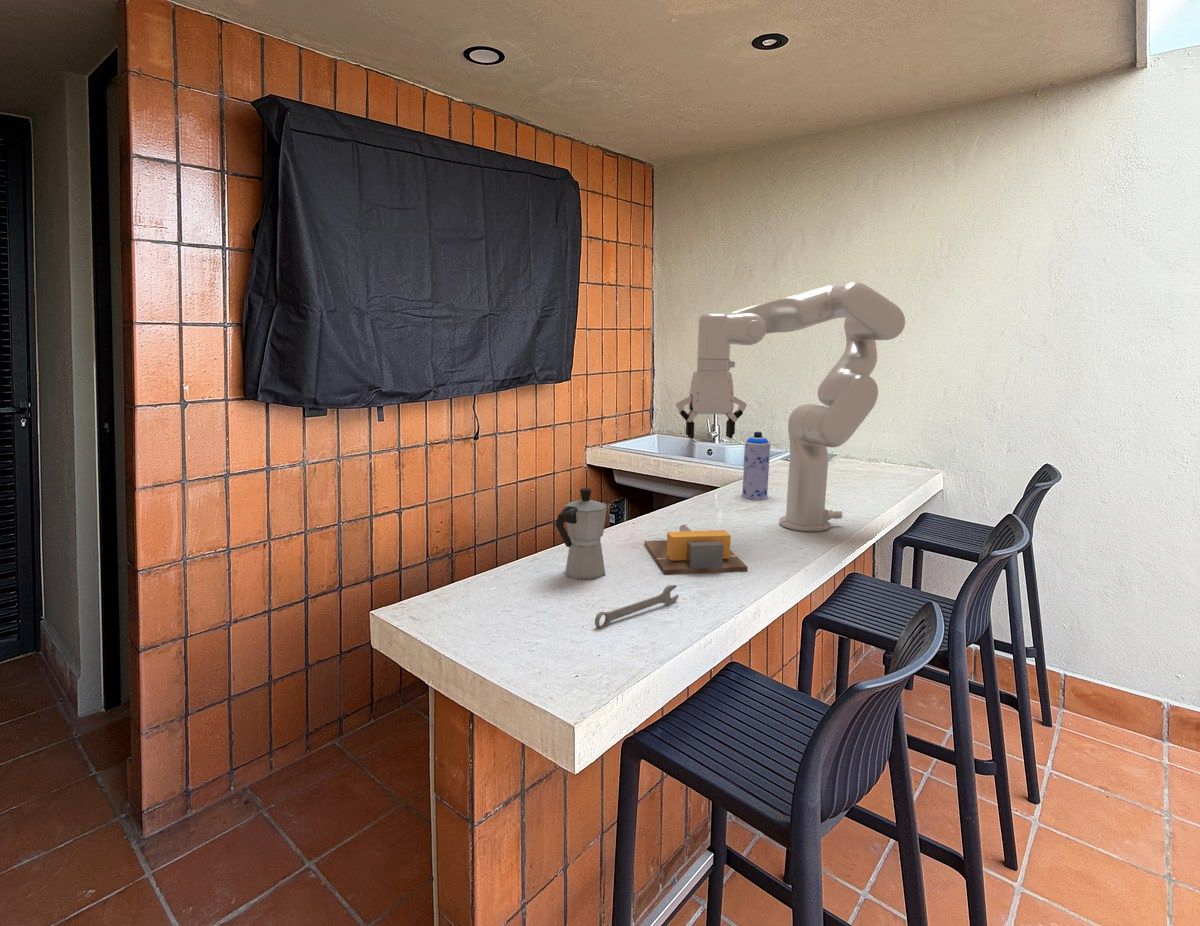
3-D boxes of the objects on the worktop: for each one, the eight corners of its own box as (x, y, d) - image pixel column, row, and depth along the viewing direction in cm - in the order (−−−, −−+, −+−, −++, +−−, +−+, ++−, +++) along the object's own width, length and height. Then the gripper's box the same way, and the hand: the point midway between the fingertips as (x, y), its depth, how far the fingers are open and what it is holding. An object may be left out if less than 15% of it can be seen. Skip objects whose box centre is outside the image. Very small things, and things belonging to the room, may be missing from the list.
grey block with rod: (697, 540, 165) (698, 520, 164) (722, 567, 146) (723, 544, 145) (668, 541, 164) (669, 520, 163) (690, 568, 145) (690, 545, 144)
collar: (723, 552, 155) (724, 530, 154) (729, 558, 151) (730, 535, 150) (666, 554, 153) (667, 531, 152) (671, 560, 149) (671, 537, 148)
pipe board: (718, 542, 167) (718, 538, 166) (747, 571, 147) (747, 566, 147) (644, 545, 164) (644, 540, 164) (664, 574, 145) (664, 569, 144)
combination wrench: (597, 613, 117) (681, 584, 130) (593, 610, 118) (677, 582, 131) (598, 633, 118) (681, 603, 130) (593, 631, 119) (676, 601, 131)
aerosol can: (754, 493, 217) (758, 429, 213) (773, 498, 211) (777, 433, 207) (736, 496, 213) (739, 431, 209) (754, 501, 207) (758, 434, 203)
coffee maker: (588, 560, 153) (589, 480, 149) (620, 569, 147) (622, 486, 144) (541, 579, 141) (540, 492, 138) (573, 589, 136) (574, 499, 132)
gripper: (742, 365, 170) (739, 435, 174) (673, 365, 168) (671, 435, 171) (753, 367, 163) (749, 439, 166) (681, 367, 160) (679, 440, 164)
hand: (710, 437), depth 169 cm, fingers open, 9 cm apart
